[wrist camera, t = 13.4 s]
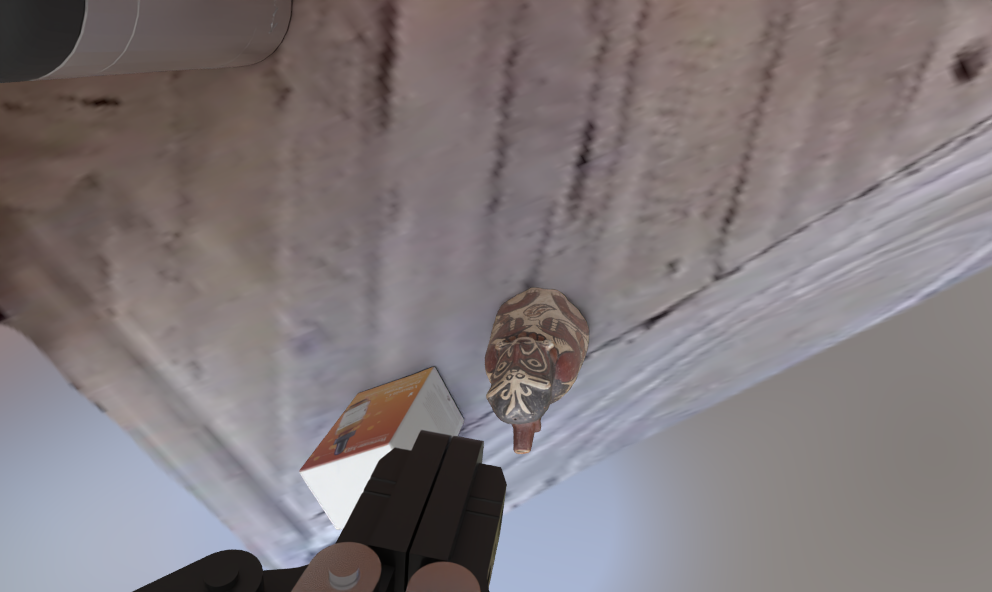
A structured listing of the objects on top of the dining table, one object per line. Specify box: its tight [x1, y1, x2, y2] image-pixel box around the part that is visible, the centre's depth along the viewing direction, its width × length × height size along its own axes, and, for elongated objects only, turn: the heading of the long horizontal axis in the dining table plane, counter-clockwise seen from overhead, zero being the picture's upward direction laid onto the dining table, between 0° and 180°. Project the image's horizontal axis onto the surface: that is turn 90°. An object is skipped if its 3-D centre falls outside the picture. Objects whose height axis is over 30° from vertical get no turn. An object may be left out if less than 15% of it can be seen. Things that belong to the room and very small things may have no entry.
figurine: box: [485, 288, 589, 454], centre depth 41 cm, size 7×7×12 cm
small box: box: [299, 367, 464, 530], centre depth 47 cm, size 8×6×10 cm
